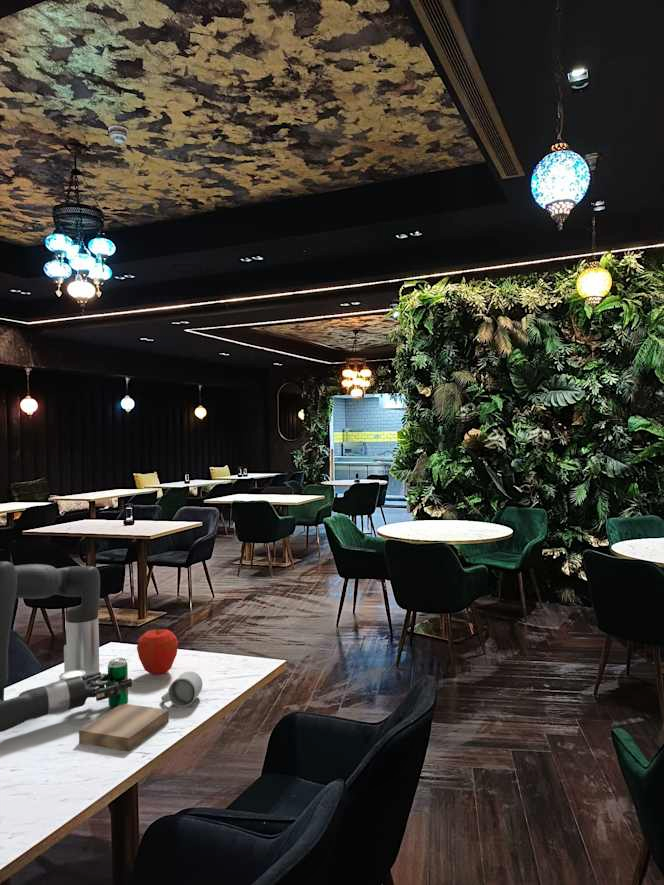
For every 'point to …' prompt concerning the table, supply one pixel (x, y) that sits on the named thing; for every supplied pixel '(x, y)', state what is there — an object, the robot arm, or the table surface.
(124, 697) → the soda can
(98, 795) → the table surface
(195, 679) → the ceramic mug
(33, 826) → the table surface
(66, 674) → the white cup
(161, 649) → the apple
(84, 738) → the walnut plate
